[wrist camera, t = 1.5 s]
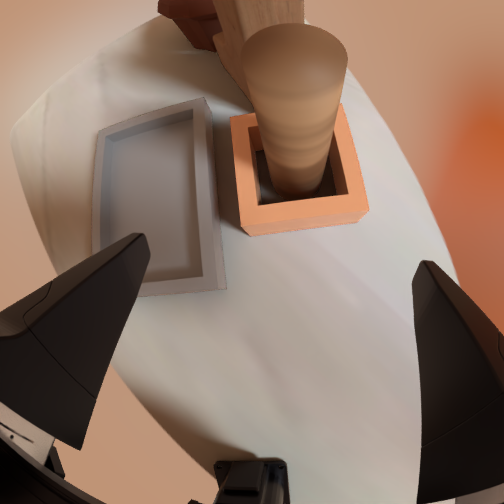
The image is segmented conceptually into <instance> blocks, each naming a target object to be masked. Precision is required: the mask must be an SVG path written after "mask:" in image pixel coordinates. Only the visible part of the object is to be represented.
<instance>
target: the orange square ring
mask: <svg viewBox="0 0 504 504" xmlns="http://www.w3.org/2000/svg"><path fill="white" fill-rule="evenodd" d="M230 124H231V134H232V144H233V153H234V163H235V173H236V182H237V192H238V201H239V211H240V220H241V227H242V228H243V229H244V230H245V231H246V232H247V233H248V234H249V235H250V237H251V236H258V235H265V234H273V233H280V232H288V231H296V230H303V229H311V228H319V227H327V226H335V225H343V224H351V223H357V222H358V221H359V220H360V219H361V218H362V217H363V216H364V215H365V214H366V213H367V212H368V211H369V205H368V200H367V195H366V191H365V186H364V182H363V177H362V173H361V169H360V165H359V161H358V157H357V153H356V149H355V146H354V142H353V139H352V135H351V131H350V128H349V125H348V121H347V118H346V115H345V112H344V109H343V105H342V103H339V107H338V112H337V117H336V121H335V126H334V130H333V135H332V139H331V144H330V148H329V152H328V155H329V159H330V164H331V168H332V173H333V178H334V183H335V188H336V193H337V196H329V197H320V198H312V199H304V200H296V201H289V202H281V203H274V204H267V205H262V200H261V192H260V185H259V177H258V169H257V162H256V154H255V151H258V150H264V147H263V143H262V139H261V135H260V131H259V127H258V123H257V119H256V115H255V113H250V114H244V115H239V116H233V117H230Z"/></svg>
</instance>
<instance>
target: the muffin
mask: <svg viewBox="0 0 504 504" xmlns="http://www.w3.org/2000/svg"><path fill="white" fill-rule="evenodd" d="M158 13H160V14H162V15H164V16H166V17H167V18H170V19H173V21H174V22H175V23H176V24H177V26H178V27H179V28H180V29H181V31H182V32H183V33H184V34H185V36H186V37H187V38H188V40H189V41H190V42H191V43H192V45H193V46H194V47H195V48H197V49H206V50H210V51H213V52H217V49H216V47H215V44H214V41H213V36H214V35H215V34H218V33H220V32H222V31H223V30H222V27H221V24H220V21H219V18H218V15H217V12H216V9H215V6H214V3H213V0H159V1H158Z"/></svg>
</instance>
